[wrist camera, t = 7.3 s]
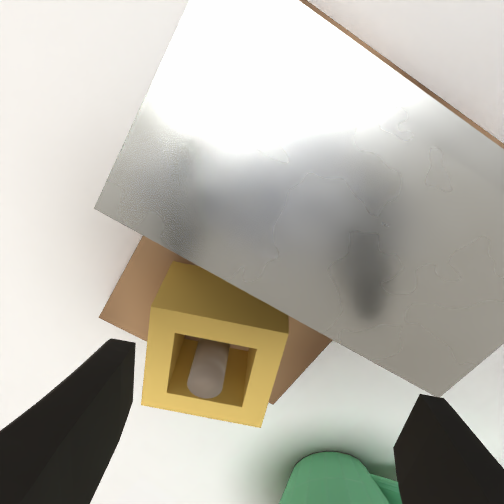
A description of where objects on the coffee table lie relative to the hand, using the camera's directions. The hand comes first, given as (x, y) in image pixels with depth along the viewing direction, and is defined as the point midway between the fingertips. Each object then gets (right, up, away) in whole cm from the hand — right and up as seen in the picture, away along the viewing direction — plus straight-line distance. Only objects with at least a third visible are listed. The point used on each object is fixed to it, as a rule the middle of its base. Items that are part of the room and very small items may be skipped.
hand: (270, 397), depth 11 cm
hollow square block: (-2, 0, +9) cm, 9 cm away
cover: (+3, +8, +7) cm, 11 cm away
